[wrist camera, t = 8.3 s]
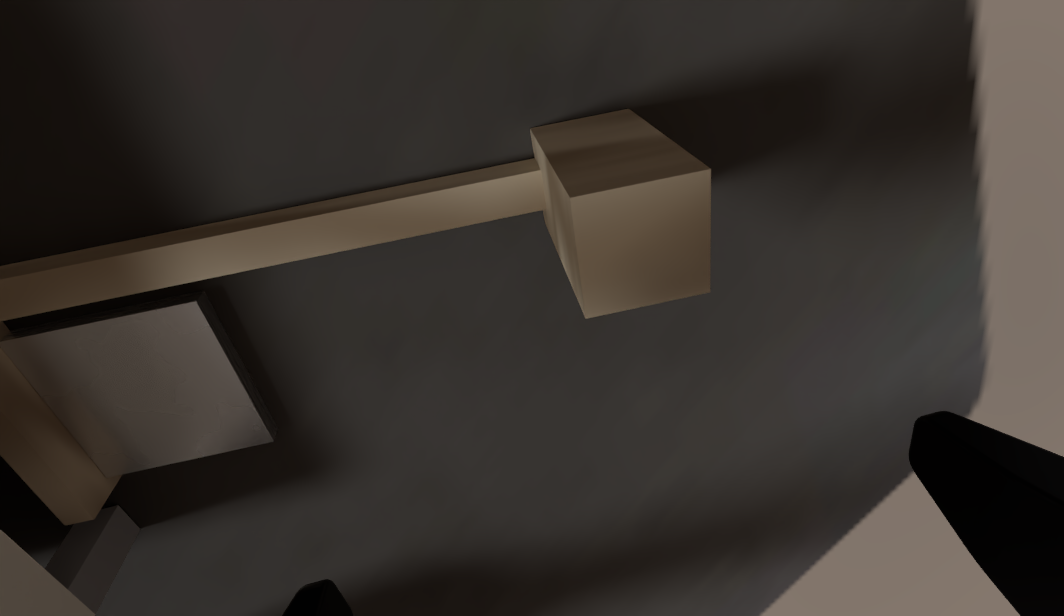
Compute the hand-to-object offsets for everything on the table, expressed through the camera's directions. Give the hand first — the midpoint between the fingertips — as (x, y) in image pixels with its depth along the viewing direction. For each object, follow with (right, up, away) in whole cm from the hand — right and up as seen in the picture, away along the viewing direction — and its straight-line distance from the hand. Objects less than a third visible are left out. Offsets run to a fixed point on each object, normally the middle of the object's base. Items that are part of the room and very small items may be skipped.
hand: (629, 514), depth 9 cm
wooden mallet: (-8, +3, +11) cm, 14 cm away
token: (-14, +1, +11) cm, 18 cm away
